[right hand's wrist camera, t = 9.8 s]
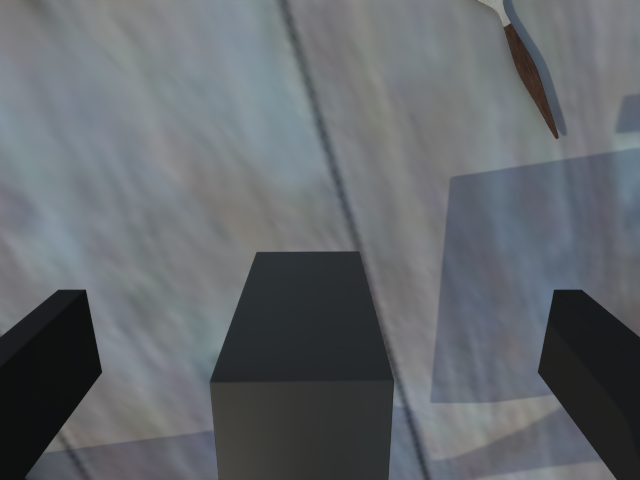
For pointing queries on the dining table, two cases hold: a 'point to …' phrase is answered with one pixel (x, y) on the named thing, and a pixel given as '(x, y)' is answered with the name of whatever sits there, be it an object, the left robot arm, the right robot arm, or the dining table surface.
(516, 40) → the fork
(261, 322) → the box
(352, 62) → the dining table surface
